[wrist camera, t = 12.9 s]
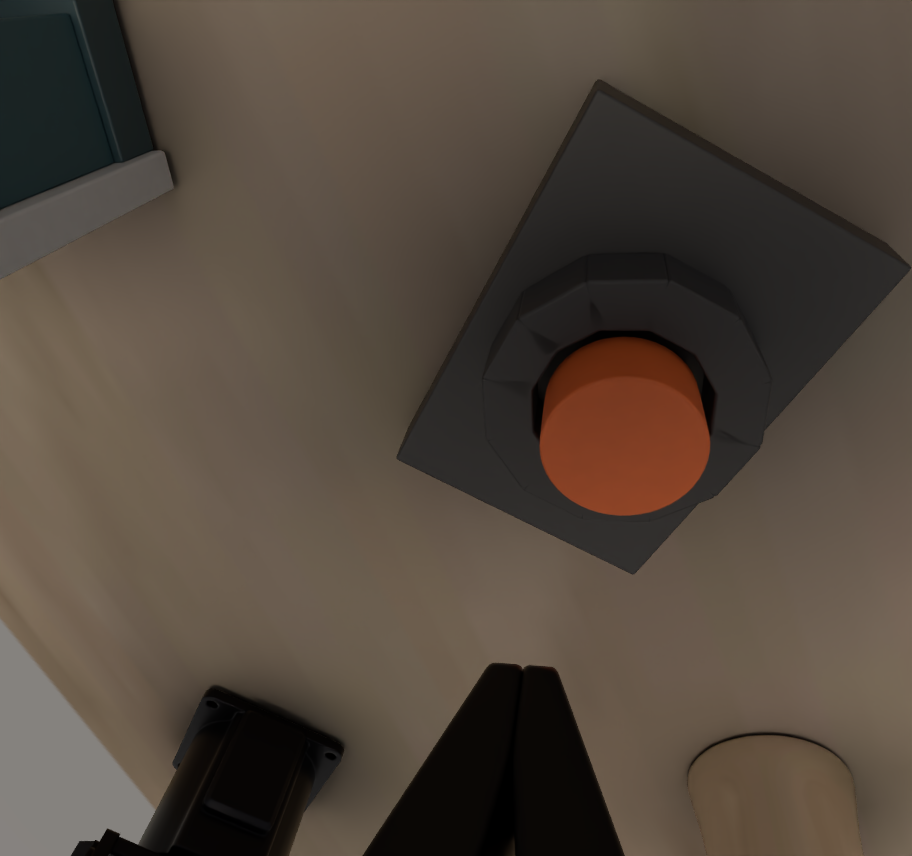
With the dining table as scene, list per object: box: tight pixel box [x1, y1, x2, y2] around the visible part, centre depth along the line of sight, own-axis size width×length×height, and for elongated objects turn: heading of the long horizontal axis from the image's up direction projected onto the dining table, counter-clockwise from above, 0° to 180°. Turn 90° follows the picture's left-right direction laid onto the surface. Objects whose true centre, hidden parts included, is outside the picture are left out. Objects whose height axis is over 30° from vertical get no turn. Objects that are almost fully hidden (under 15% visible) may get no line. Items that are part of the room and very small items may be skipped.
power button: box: [539, 336, 710, 516], centre depth 17 cm, size 4×4×2 cm
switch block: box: [397, 80, 911, 574], centre depth 19 cm, size 11×8×4 cm
